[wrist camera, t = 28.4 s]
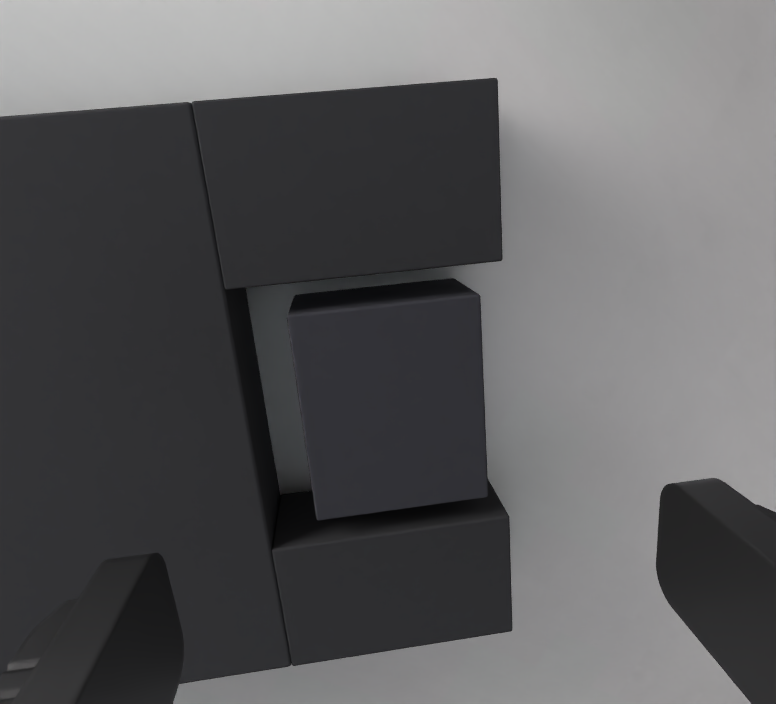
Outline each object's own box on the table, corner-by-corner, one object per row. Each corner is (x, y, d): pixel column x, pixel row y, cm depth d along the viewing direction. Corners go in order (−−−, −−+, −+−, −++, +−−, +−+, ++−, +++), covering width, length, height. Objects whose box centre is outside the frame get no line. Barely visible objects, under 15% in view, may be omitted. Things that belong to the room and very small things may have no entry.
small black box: (454, 277, 17) (480, 294, 14) (463, 451, 18) (488, 498, 15) (293, 294, 16) (286, 315, 13) (318, 470, 18) (316, 521, 15)
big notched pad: (466, 100, 15) (498, 77, 12) (486, 569, 20) (513, 632, 17) (-468, 175, 13) (-686, 169, 11) (-209, 673, 18) (-312, 763, 15)
